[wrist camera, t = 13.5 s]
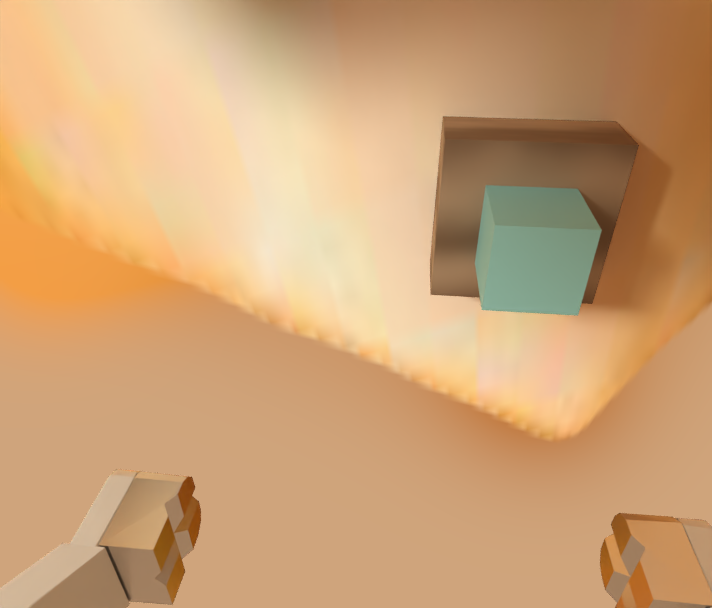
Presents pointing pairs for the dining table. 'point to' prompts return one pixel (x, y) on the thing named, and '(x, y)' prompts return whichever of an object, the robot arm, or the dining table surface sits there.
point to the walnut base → (521, 183)
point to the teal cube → (535, 249)
